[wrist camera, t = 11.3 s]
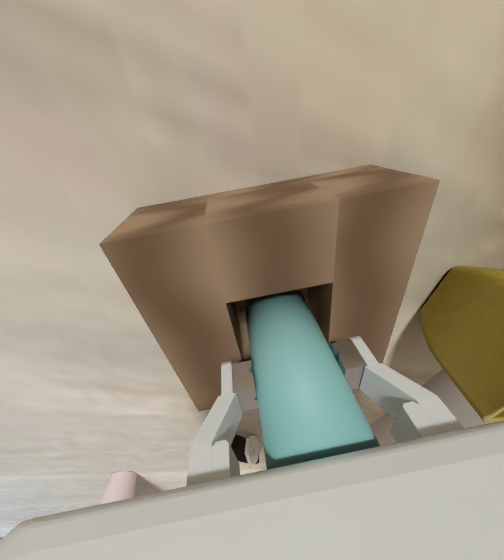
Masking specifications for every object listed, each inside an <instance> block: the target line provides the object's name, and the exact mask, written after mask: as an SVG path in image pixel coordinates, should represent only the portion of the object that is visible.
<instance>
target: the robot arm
mask: <svg viewBox="0 0 504 560" xmlns="http://www.w3.org/2000/svg"><path fill="white" fill-rule="evenodd" d="M329 347H330V349H331V351H332V353H333V355H334V357H335V359H336V361H337V363H338V365H339V367H340V368H341V370H342V372H343V374H344V376H345V378H346V380H347V382H348V384H349V386H350V388H351V390H352V389H358V388H360V390H361V391H362V392H363V393H365V394H366V395H367V396H368V397H369V398H371V399H372V400H373V401H374V402H375V403H377V404H378V405H379V406H380V407H381V408H383V409H384V410H385V411H386V412H387V413H389V414H390V415H391V416H392V417H394V418H395V419H396V420H395V422H394V425H393V426H392V429H391V433H392V435H393V437H394V439H395V441H396V442H397V443H393V444H388V445H383V446H379V447H374V448H369V449H364V450H359V451H355V452H350V453H345V454H340V455H335V456H330V457H326V458H321V459H316V460H311V461H306V462H302V463H297V464H292V465H287V466H282V467H278V468H273V469H268V470H263V471H258V472H253V473H249V474H244V475H240V468H239V462H238V460H237V458H236V456H235V454H234V452H233V450H232V448H231V444H232V441H233V439H234V436H235V433H236V431H237V428H238V426H239V423H240V421H241V418H242V415H243V412H244V411H249V410H253V409H257V408H258V402H257V393H256V385H255V380H254V371H253V364H252V359H251V358H247V359H241V360H235V361H230V362H225V363H222V365H221V395H220V396H218V397H217V399H216V401H215V403H214V405H213V406H212V408H211V410H210V412H209V413H208V415H207V417H206V419H205V421H204V422H203V424H202V426H201V428H200V430H199V431H198V433H197V435H196V437H195V438H194V440H193V442H192V444H191V446H190V455H189V466H188V476H187V486H186V487H181V488H176V489H172V490H167V491H162V492H157V493H152V494H148V495H143V496H138V497H133V498H128V499H124V500H119V501H114V502H109V503H104V504H100V505H95V506H90V507H85V508H81V509H76V510H71V511H66V512H62V513H57V514H52V515H46V516H41V517H36V518H32V519H29V520H26V521H23V522H21V523H20V524H18V525H17V526H16V527H14V528H13V529H12V530H11V531H10V532H9V533H8V534H7V535H6V536H5V537H4V538H3V539H2V540H1V541H0V560H504V421H499V422H494V423H489V424H485V425H480V426H475V427H470V428H465V429H464V428H463V426H462V425H461V424H460V423H459V422H458V420H457V419H456V418H455V417H454V415H453V414H452V413H451V412H450V411H449V409H448V408H447V407H446V406H445V404H444V403H443V402H442V401H441V400H440V399H439V397H438V396H437V395H435V394H434V393H432V392H430V391H429V390H427V389H425V388H423V387H422V386H420V385H418V384H417V383H415V382H413V381H412V380H410V379H408V378H407V377H405V376H403V375H401V374H400V373H398V372H396V371H395V370H393V369H391V368H390V367H388V366H386V365H385V364H383V363H378V361H377V360H376V358H375V357H374V356H373V354H372V353H371V351H370V350H369V348H368V347H367V345H366V344H365V343H364V341H363V340H362V338H361V337H359V336H356V337H351V338H345V339H340V340H335V341H331V342H329Z"/></svg>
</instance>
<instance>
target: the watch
mask: <svg viewBox="0 0 504 560" xmlns="http://www.w3.org/2000/svg"><path fill="white" fill-rule="evenodd" d="M231 448H232V450H233V452H234V454H235V456H236V458H237V460H238V461H241V462H245V463H249V464H250V465H249V467H251V465H253V464H257V463H259V444H258V440H257V438H256V436H253V435H250V436H249V437H248V438H247V437H246V438H244V437H242V436H239V435H235V436H234V439H233V441H232V444H231Z"/></svg>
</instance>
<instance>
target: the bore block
mask: <svg viewBox="0 0 504 560" xmlns="http://www.w3.org/2000/svg"><path fill="white" fill-rule="evenodd" d="M439 181H440V180H437V179H433V178H428V177H424V176H419V175H415V174H410V173H405V172H401V171H396V170H392V169H387V168H383V167H378V166H374V165H367V166H362V167H357V168H351V169H346V170H340V171H335V172H330V173H324V174H319V175H314V176H308V177H303V178H297V179H292V180H287V181H281V182H276V183H271V184H265V185H260V186H254V187H249V188H244V189H238V190H233V191H227V192H222V193H217V194H211V195H206V196H201V197H195V198H190V199H184V200H179V201H174V202H168V203H163V204H157V205H152V206H147V207H141V208H137V209H136V210H135V211H134V212H133V213H132V214H131V215H130V216H129V217H128V218H127V219H125V220H124V221H123V222H122V223H121V224H120V225H119V226H118V227H117V228H116V229H115V230H114V231H113V232H112V233H110V234H109V235H108V236H107V237H106V238H105V239H104V240H103V241H102V242H101V243H100V244H99V245H100V246H101V248H102V250H103V252H104V253H105V255H106V257H107V258H108V260H109V262H110V263H111V265H112V267H113V268H114V270H115V272H116V273H117V275H118V277H119V278H120V280H121V282H122V283H123V285H124V287H125V288H126V290H127V292H128V293H129V295H130V297H131V298H132V300H133V302H134V303H135V305H136V307H137V308H138V310H139V312H140V314H141V315H142V317H143V319H144V320H145V322H146V324H147V325H148V327H149V329H150V330H151V332H152V334H153V335H154V337H155V339H156V340H157V342H158V344H159V345H160V347H161V349H162V350H163V352H164V354H165V355H166V357H167V359H168V360H169V362H170V364H171V365H172V367H173V369H174V371H175V372H176V374H177V376H178V377H179V379H180V381H181V382H182V384H183V386H184V387H185V389H186V391H187V392H188V394H189V396H190V397H191V399H192V401H193V402H194V404H195V406H196V407H197V409H198V411H203V410H208V409H211V408H212V406H213V405H214V403H215V401H216V399H217V397H218V396H220V395H221V365H222V363H225V362H230V361H235V360H241V359H247V358H251V352H250V345H249V338H248V331H247V323H246V316H245V309H246V305H247V303H248V301H249V300H250V298H255V297H261V296H266V295H271V294H276V293H281V292H286V291H291V290H299V291H300V292H301V293H302V295H303V296H304V298H305V300H306V302H307V304H308V306H309V308H310V310H311V312H312V314H313V316H314V318H315V320H316V321H317V323H318V325H319V327H320V329H321V331H322V333H323V335H324V337H325V339H326V341H327V343H328V345H329V342H331V341H335V340H340V339H345V338H351V337H356V336H359V337H361V338H362V340H363V341H364V343H365V344H366V345H367V347H368V348H369V350H370V351H371V353H372V354H373V356H374V357H375V358H376V360H377V361H378V363H383V360H384V357H385V353H386V350H387V347H388V344H389V341H390V337H391V334H392V331H393V328H394V325H395V322H396V318H397V315H398V312H399V309H400V306H401V302H402V299H403V296H404V293H405V290H406V286H407V283H408V280H409V277H410V274H411V270H412V267H413V264H414V261H415V258H416V254H417V251H418V248H419V245H420V242H421V239H422V235H423V232H424V229H425V226H426V223H427V219H428V216H429V213H430V210H431V207H432V203H433V200H434V197H435V194H436V191H437V187H438V184H439Z"/></svg>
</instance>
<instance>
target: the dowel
mask: <svg viewBox="0 0 504 560" xmlns="http://www.w3.org/2000/svg"><path fill="white" fill-rule="evenodd" d="M245 316H246V323H247V331H248V338H249V345H250V352H251V359H252V364H253V371H254V380H255V385H256V393H257V402H258V409H259V416H260V423H261V430H262V437H263V444H264V451H265V458H266V465H267V470H268V469H273V468H278V467H282V466H287V465H292V464H297V463H302V462H306V461H311V460H316V459H321V458H326V457H330V456H335V455H340V454H345V453H350V452H355V451H359V450H364V449H369V448H374V447H379V443H378V441H377V439H376V437H375V435H374V434H373V431H372V429H371V427H370V425H369V423H368V421H367V419H366V417H365V415H364V413H363V412H362V410H361V408H360V406H359V404H358V402H357V400H356V398H355V396H354V394H353V392H352V390H351V388H350V386H349V384H348V382H347V380H346V378H345V376H344V374H343V372H342V370H341V368H340V367H339V365H338V363H337V361H336V359H335V357H334V355H333V353H332V351H331V349H330V347H329V345H328V343H327V341H326V339H325V337H324V335H323V333H322V331H321V329H320V327H319V325H318V323H317V321H316V320H315V318H314V316H313V314H312V312H311V310H310V308H309V306H308V304H307V302H306V300H305V298H304V296H303V295H302V293H301V292H300V291H299V290H291V291H286V292H281V293H276V294H271V295H266V296H261V297H255V298H250V300H249V301H248V303H247V305H246V309H245Z"/></svg>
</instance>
